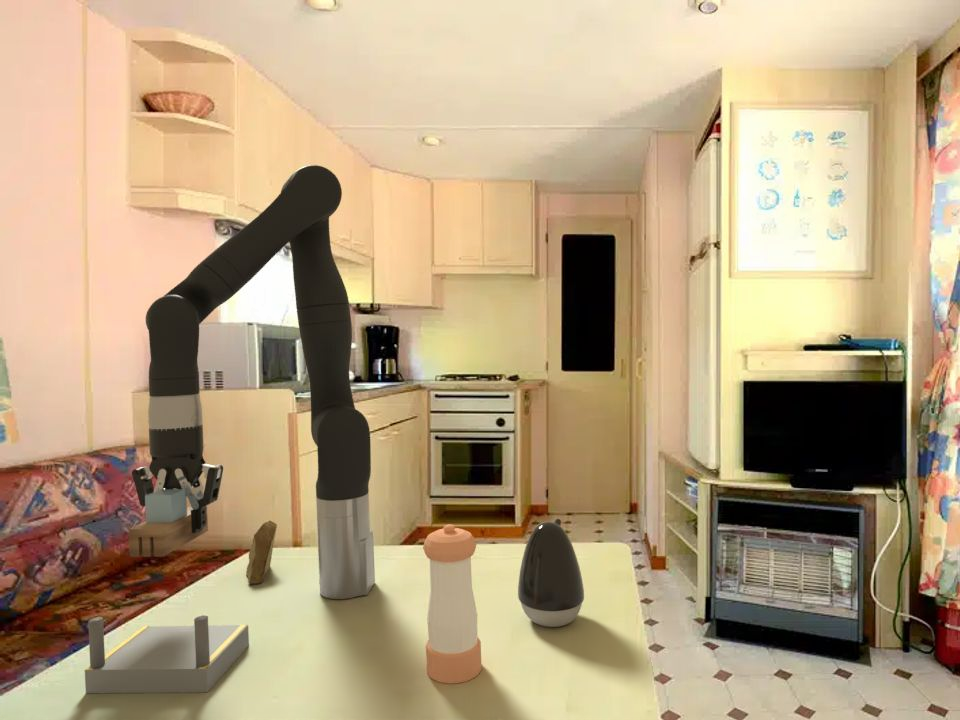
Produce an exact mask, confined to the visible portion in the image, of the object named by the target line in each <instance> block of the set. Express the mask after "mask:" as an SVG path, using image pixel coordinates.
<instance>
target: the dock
mask: <svg viewBox="0 0 960 720" xmlns="http://www.w3.org/2000/svg"><path fill="white" fill-rule="evenodd" d="M193 621H194V622H193V623H194V624H193V625H165V626H164V625H161V626H159V625H157V626H153V625H152V626H149V625H143V626H142V627H140V628H138V629H137V630H136V631H135V632H133V633H132V634H131V635H129V637H127V638H125V639H124V640H123V641H122V642H120V643H119V644H118V645H117V644H116V646H114V648H112V649H111V650H109V651H108V652H107V653H106V654H105V635H104V633H105V632H104V617H102V616H98V617H94V618H91V619H89V620H88V623H87V625H88V644H89V666H88V667H87V668H86V669H84V682H85V694H140V693H141V694H147V693H148V694H150V693H151V694H152V693H153V694H154V693H155V694H156V693H160V694H161V693H163V694H164V693H165V694H166V693H168V694H169V693H171V694H172V693H208V692H209V691H210V690H211V689H212V688H213V687H214V686H215V684H217V682H218V681H219V680H220V679H221V678H222V677H223V675H225V673H226V672H227V671H228V670H229V669H230V667H232V665H233V664H234V663H235V662H236V661H237V659H238V658H239V657H241V655H242V654H243V653H244V651H245V650H246V649H247V648H249V646H250V637H249V635H250V633H249V625H248V624H243V623H242V624H232V625H231V624H225V625H224V624H223V625H216V624H215V625H209V616H208V615H199V616H196V617H195V618H194V619H193Z"/></svg>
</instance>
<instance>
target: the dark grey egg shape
mask: <svg viewBox="0 0 960 720" xmlns="http://www.w3.org/2000/svg"><path fill="white" fill-rule="evenodd" d="M561 525H562V520H561V519H559V518H556V519H555V520H554V521H544V522H543V521H542V522H541V523H539V524H537V525H536V526H535V527H534V528H533V529H532V531H531V533H530V535H529V537H528V540H527V542H526V545H525V548H524V551H523V556H522V559H521V564H520V568H519V575H518V585H517V598H518V600H519V602H520V604H521V608H522V610H523V612H524V613H525V615H526V616H527V617H528V619H529V620H531V621H532V622H533V623H535V624H536V625H539V626H542V627H545V628H546V627H547V628H557V627H562V626H563V627H564V626H565V625H568V624H570V623H571V622H573V621H574V620H575V619H576V618H577V616H578V615H579V613H580V611H581V608H582V604H583V602H584V599H585V589H584V583H583V577H582V572H581V569H580V565H579V564H580V563H579V561H578V557H577V554H576V551H575V549H574V546H573V543H572V541H571V539H570V538H569V536H568V534H567V532H566V530H565V529H564V528H563V527H562V526H561Z"/></svg>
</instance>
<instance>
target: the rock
mask: <svg viewBox="0 0 960 720" xmlns="http://www.w3.org/2000/svg"><path fill="white" fill-rule="evenodd" d="M277 528H278V524H277V523H276V522H273V521H272V520H268V521H265V522H263V523H262V525H261V526H260V528H258V529H257V531H256V533H254V534H253V537H252V543H251V545H250V549H249V552H248V564H247V567H246V571H245V573H246V576H247V579H248V584H249V585H250V584H257V585H258V584H262V583H263V580H264V578H265V575H267V573H268V571H269V569H270V568H271V565H272V563H271V562H272V558H273V557H272V556H273V550H274V543H275V537H276V534H277V533H276V532H277Z"/></svg>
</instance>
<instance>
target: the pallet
mask: <svg viewBox="0 0 960 720" xmlns="http://www.w3.org/2000/svg"><path fill="white" fill-rule="evenodd" d="M192 509H193V508H192V507H191V506H187V515H186V516H184V517H182V518H180V519H178V520H176V521H174V522H158V523H146V520H145V521H144V522H141V523H139V524H137V525H134V526H133V527H130V528H128V545H129V546H128V547H129V549H128V550H129V558H137V557H138V558H140V557H141V556H142V557H143V558H144V557H145V558H148V557H149V558H150V557H155V558H157V557H158V558H159V557H165V556H167V555H169V554H170V553H173V551H176V550H177V549H179V548H180V547H182V546H184V545H187V544H188V543H189V542H191V541H193V540H194V539H195V540H196V538H198V537H200V536H202V535H203V534H205V533H207V532H208V531H209V529H208V528H209V525H208V506H206V525H205V527H203V530H202V531H200V532H198V533H192V524H191V510H192Z"/></svg>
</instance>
